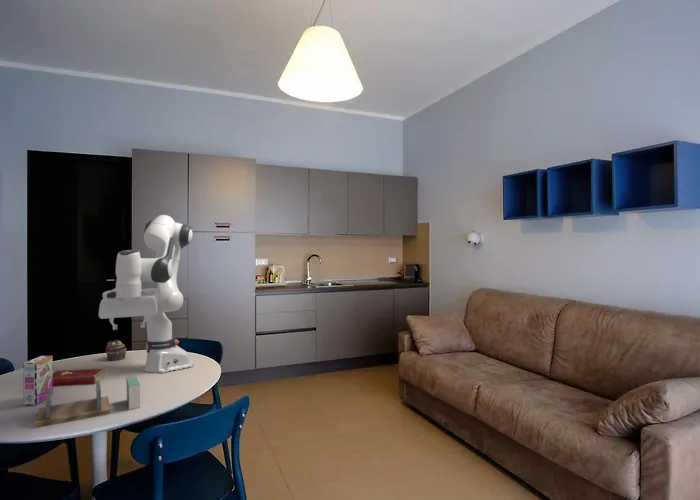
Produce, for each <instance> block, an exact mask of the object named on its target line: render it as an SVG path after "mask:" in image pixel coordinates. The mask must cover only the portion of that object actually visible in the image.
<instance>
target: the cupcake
mask: <svg viewBox="0 0 700 500" xmlns="http://www.w3.org/2000/svg"><path fill="white" fill-rule="evenodd" d="M105 349H106V350H105V354H106V358H107V360H108V362H115V361H116V362H119V361H123V360H125V359H126V354H127V348H126V345H125V344H124V343H122V342H121V340H119V339H115V340H108V342H107V345H106V347H105Z"/></svg>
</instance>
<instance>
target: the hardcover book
mask: <svg viewBox="0 0 700 500" xmlns="http://www.w3.org/2000/svg"><path fill="white" fill-rule="evenodd" d="M106 370H107V368H106V367H101V368H100V367H99V368H82V369H81V368H79V369H59V370H56V371H53V387H63V386H82V385H84V386H85V385H96V381H101V380H102V379H103V378H105V377H106Z"/></svg>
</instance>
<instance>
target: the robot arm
mask: <svg viewBox="0 0 700 500" xmlns="http://www.w3.org/2000/svg"><path fill="white" fill-rule="evenodd" d="M193 236H194V235H193V228H192V227H191V226H190V225H188V224H185V223H183V224H182V223H180V222H177V221H176V222H175V220H174V219H173V218H172V217H171V216H170V215H167V214H160V215H158V216H156V217H155V218H154V219H153V220H149V221H148V222H145V226H144V228H143V240H144V244H145V245H146V246H147V247H148V248H149V249H151V250H152V251H154V252H156V255H155V258H154V257H152V258H151V257H150V258H149V257H147V258H145V257H141V253H140V251H139V250H138V249H137V250H136V249H127V250H126V249H125V250H121V251H119V252H117V256H116V261H115V276H116V282H115V288H113V289H110V290H106V291H104V292H103V293H102V299H101V300H100V303H99V308H98V318H100V319H101V320H103V319H109V323H110V325H112V330H113V331H115V330H118V324H115V323H114V320H115V319H117V318H118V319H119V318H131V317H132V318H133V317H143V321H142V322H140V325H139V326H140V327H139V328H141V329H142V328H146V333H147V339H146V344H145V346H146V347H145V348H146V362H145V366H144V370H143V371H145V372H146V373H147V372H148V373H158V374H166V373H170V372H169V371H171V372H174V371H173V370H176V371H179V370H178V369H181V370H183V369H182V368H185V369H189V368H188V367H190V368H193V367H194V366H195V363H194V362H195V361H194V360H192V359H190V357H189V353H188V351H186V350H185V349H183V348H181V347H180V346H178V345H179V343H180V341H179V340H178V339H176V338H174V337H173V324H172V323H173V322H172V321H171V319H170V318H168V317H167V315H166V313H169V312H171V313H172V312H176V311H178V310H180V309H181V308H182V306H183V305H184V304H183V303H184V296H183V293H182V292H181V291H180V290H179V289H180V288H179V286H178V282H177V281H178V280H177V277H178V276H177V275H178V271H179V266H180V265H179V264H180V261H181V260H180V258H181V250H182V249H184V247H187V246H188V245H189V244H190V243H191V241H192V239H193ZM142 283H157V287H147V288H143V287H142V286H143V285H142ZM165 312H166V313H165ZM145 323H146V324H145ZM165 372H166V373H165Z"/></svg>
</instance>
